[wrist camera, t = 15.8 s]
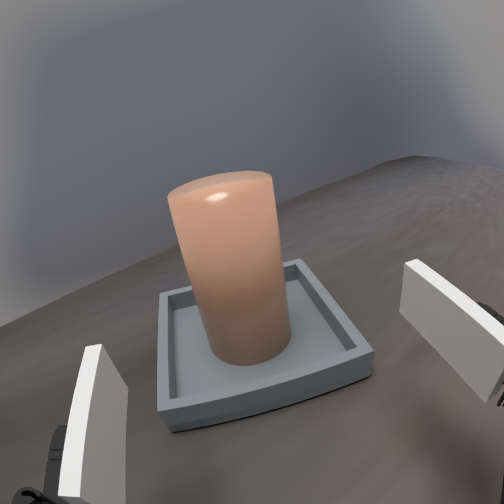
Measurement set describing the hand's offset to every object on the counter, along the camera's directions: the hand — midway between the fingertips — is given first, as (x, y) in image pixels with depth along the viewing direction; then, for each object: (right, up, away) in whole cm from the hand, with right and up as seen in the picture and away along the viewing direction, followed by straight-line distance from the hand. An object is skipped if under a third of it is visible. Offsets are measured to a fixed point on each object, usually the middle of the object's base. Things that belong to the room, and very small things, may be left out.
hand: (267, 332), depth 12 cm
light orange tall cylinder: (-1, -3, +12) cm, 12 cm away
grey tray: (-1, -4, +12) cm, 13 cm away
